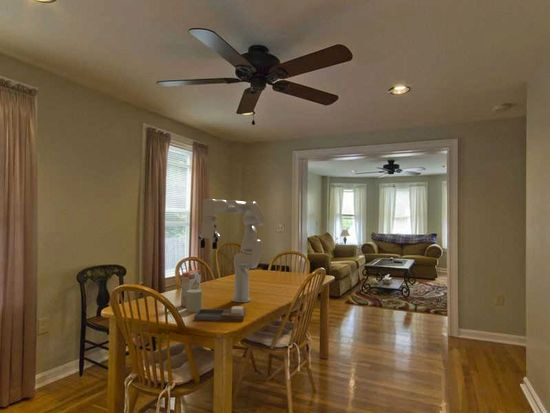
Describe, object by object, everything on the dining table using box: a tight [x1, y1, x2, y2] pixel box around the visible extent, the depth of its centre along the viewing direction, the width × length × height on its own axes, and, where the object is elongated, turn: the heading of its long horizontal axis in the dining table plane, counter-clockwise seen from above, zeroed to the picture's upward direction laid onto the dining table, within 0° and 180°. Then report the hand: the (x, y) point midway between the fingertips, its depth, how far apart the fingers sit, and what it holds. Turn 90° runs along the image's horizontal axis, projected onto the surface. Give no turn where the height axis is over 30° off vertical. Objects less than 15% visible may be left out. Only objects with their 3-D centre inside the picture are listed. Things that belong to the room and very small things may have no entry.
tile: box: [230, 305, 244, 314], centre depth 192 cm, size 6×6×2 cm
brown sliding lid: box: [220, 307, 246, 322], centre depth 191 cm, size 14×12×3 cm
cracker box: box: [180, 269, 202, 308], centre depth 218 cm, size 14×6×21 cm, turn 163°
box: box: [193, 308, 225, 322], centre depth 191 cm, size 14×14×2 cm
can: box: [185, 288, 203, 313], centre depth 205 cm, size 9×9×12 cm
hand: (208, 248), depth 205 cm, fingers open, 9 cm apart
